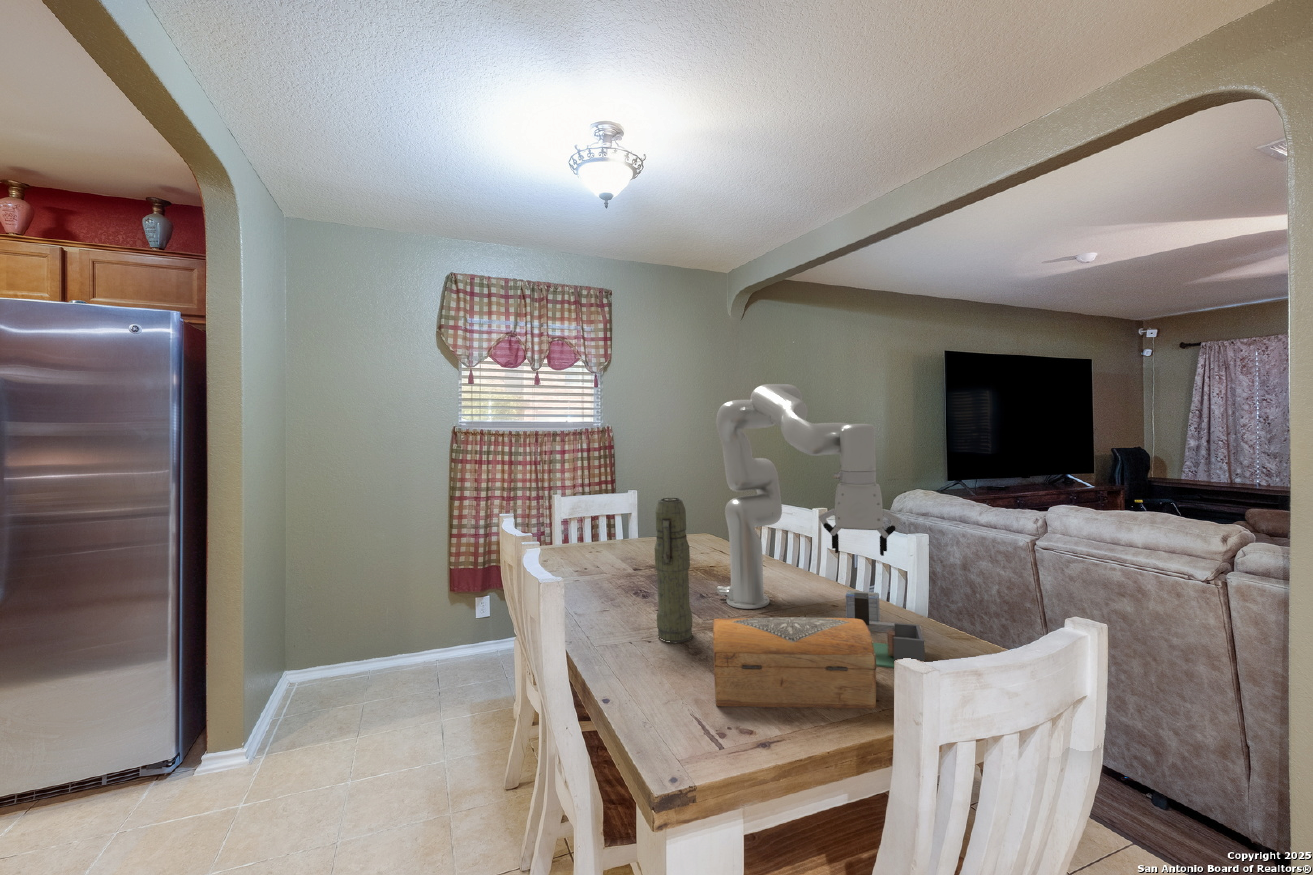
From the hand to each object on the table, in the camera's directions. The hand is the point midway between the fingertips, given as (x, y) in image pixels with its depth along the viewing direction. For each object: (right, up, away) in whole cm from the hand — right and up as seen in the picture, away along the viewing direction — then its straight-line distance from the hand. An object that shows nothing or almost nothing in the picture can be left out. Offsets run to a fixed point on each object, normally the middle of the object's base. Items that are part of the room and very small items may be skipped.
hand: (859, 553), depth 126 cm
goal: (+9, -23, -3) cm, 25 cm away
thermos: (-41, -24, +15) cm, 50 cm away
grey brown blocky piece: (0, -22, +1) cm, 22 cm away
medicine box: (+7, -23, +16) cm, 29 cm away
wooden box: (-19, -25, -14) cm, 34 cm away
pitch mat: (+5, -23, -1) cm, 23 cm away
